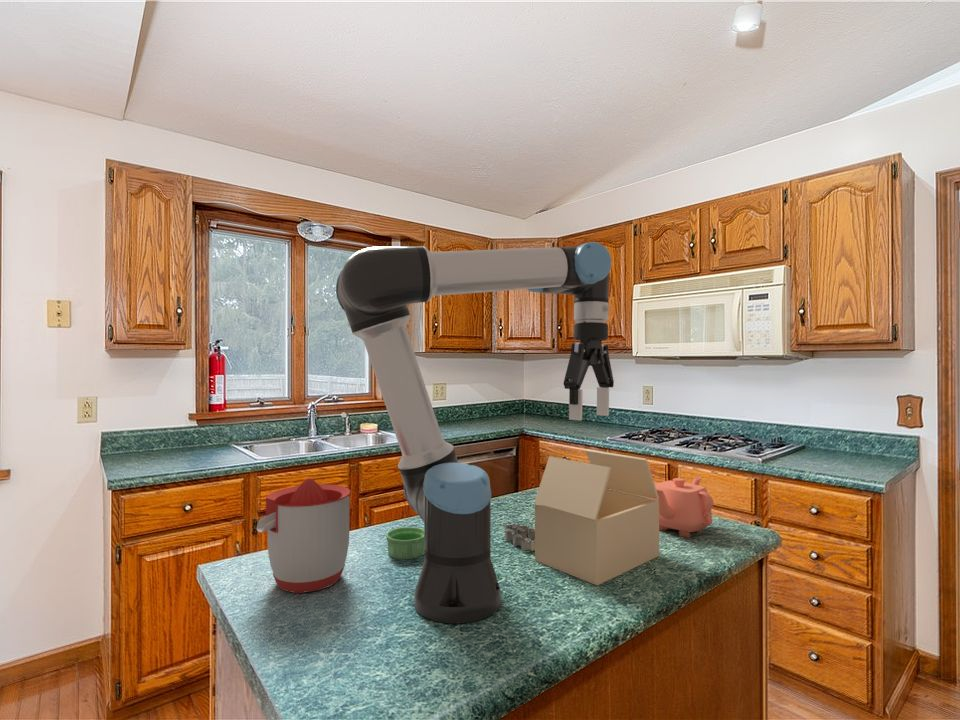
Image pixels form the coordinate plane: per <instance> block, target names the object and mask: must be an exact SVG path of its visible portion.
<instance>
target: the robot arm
mask: <svg viewBox="0 0 960 720" xmlns="http://www.w3.org/2000/svg"><path fill="white" fill-rule="evenodd" d="M611 269H612V257H611V253H610V252H609V250H608V248H607V247H606V246H604V245H603V244H602V243H599V242H597V241H589V242H583V243H581V244H580V245H578V246H577V245H576V246H559V247H558V246H557V247H556V246H554V247H552V246H551V247H531V248H530V247H529V248H527V247H526V248H525V247H524V248H503V249H498V248H497V249H476V250H475V249H473V250H452V251H449V250H447V251H444V250H443V251H430V250H429V249H428V247H426V246H424V245H423V246H422V245H419V246H393V245H392V246H371V247H366V248H362V249H361V250H358V251H356V252H355V253H353V254H352V255H351V256H350V257H349V258H348V259H347V260H346V262H345V263H344V265H343V268H342V269H341V271H340V272H339V274H338V277H337V280H336V286H335V293H336V299H337V302H338V304H339V306H340V307H341V309H342V310H343V311H344V313H345V315H346V318H347V322H348V324H349V327H350V331H351V333H352V335H353V336H355V337H357V338H359V339H361V340H362V342H363V343H364V346H365V347H364V348H365V349H366V353H367V354H368V355H367V356H368V358H369V360H370V361H369V362H370V364H371V366H372V370H373V373H374V375H375V378H376V379H375V380H376V381H377V384H378V387H379V390H380V393H381V396H382V398H383V399H382V400H383V401H384V405H385V407H386V412H387V413H388V416H389V419H390V423H391V426H392V428H393V431H394V434H395V437H396V440H397V443H398V446H399V449H400V451H401V457H400V459H399V462H398V463H397V467H398V470H399V472H400V476H401V478H402V482H403V494H404V497H405V499H406V501H407V503H408V505H409V506H410V508H411V509H412V510H413V511H414V512H415V513H417V515H418V516H419V517H420V519H421V521H423V526H424V528H423V529H424V547H425V552H424V559H423V563H422V567H421V570H420V574H419V577H418V581H417V585H416V587H415V589H414V607H415V610H416V611H417V613H418V614H420V616H423V617H424V618H426V619H429V620H431V621H435V622H439V623H442V624H443V623H444V624H468V623H472V622H477V621H480V620H483V619H487V618H488V617H491V616H492V615H493V614H495V613H496V612H497V611H498V610H499V609H500V607H501V602H502V600H501V599H502V593H501V587H500V583H499V581H498V577H497V573H496V570H495V568H494V565H493V562H492V558H491V557H492V556H491V539H492V538H491V529H492V528H491V517H492V516H491V511H492V510H491V506H492V504H491V503H492V502H491V499H492V490H491V489H492V488H491V483H490V482H491V481H490V476H489V475H488V473H487V472H486V471H485V470H484V469H483V468H482V467H479V466H477V465H474V464H468V463H464V462H459V460H458V457H457V454H456V450H455V447H454V445H453V444H452V443H449V442H447V441H445V440H444V439H443V436H442V432H441V428H440V426H439V423H438V420H437V418H436V414H435V410H434V408H433V405H432V402H431V399H430V396H429V393H428V390H427V388H426V384H425V381H424V377H423V375H422V371H421V369H420V365H419V363H418V359H417V356H416V353H415V350H414V348H413V345H412V342H411V338H410V336H409V332H408V330H407V329H408V328H407V325H408V323H409V321H410V319H411V314H410V311H409V307H408V305H412V304H418V303H429V302H430V300H431V299H432V298H433V297H435V296H436V297H437V296H449V295H450V296H451V295H463V294H465V295H466V294H476V293H477V294H478V293H491V292H506V291H517V290H519V291H520V290H527V291H528V292H531V293H538V294H540V295H541V294H552V295H553V294H557V295H569V296H573V304H574V306H573V321H575V323H574V325H573V339H574V340H575V341H579V342H572V343H571V347H570V348H571V350H570V356H569V360H568V364H567V368H566V371H565V376H564V379H563V387H564V389H565V390H566V389H567V390H568V391H569V394H568V395H569V397H568V400H569V401H568V420H570V421H571V420H572V421H580V422H581V421H583V390H584V389H581V387H582V385H583V382H584V379H585V377H586V374H587V373H588V369H589V367H592V368H591V369H592V370H593V372H594V375H595V378H596V382H597V383H598V387H596V416H603V417H604V416H605V417H609V416H610V388H614V385H615V384H614V383H615V382H614V381H615V379H614V377H613V376H614V375H613V370H612V364H611V360H610V355H609V345H607V344H602V341H607V340H608V338H609V325H608V323H606V322H607V321H608V320H609V311H610V310H611V309H610V306H609V294H610V293H609V289H610V288H609V287H610V273H611Z"/></svg>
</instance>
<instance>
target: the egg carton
mask: <svg viewBox="0 0 960 720" xmlns="http://www.w3.org/2000/svg"><path fill="white" fill-rule="evenodd" d="M502 526H503V528H504V540H506V542H512V545H513V546H514V547H516V546H517V545H519V547H520V550H522V551H529V550H530V552H533V550H534V551H535V526H533V527H532V526H528V525H527V524H525V523H522V524H521V525H520V523H519V522H518V523H516V524H515V523H513V524H510V523H509V524H507V525H506V524H502ZM527 536H528V537H527ZM529 538H530V539H529ZM517 547H518V546H517Z"/></svg>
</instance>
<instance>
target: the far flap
mask: <svg viewBox="0 0 960 720" xmlns="http://www.w3.org/2000/svg"><path fill="white" fill-rule="evenodd" d="M585 453H586V456H587V458H588V462H589V464H594V465H599V466H605V467H610V468H611V471H610V475H609V478H608V482H607V485H606V489H609V490H614V491H618V492H622V493H627V494H631V495H636V496H640V497H645V498H652V499H657V500H658V499H659V496H658V493H657V490H656V487H655V484H654V483H655V481H654V478H653V477H654V476H653V475H652V471H651V468H650V465H649V462H648V459H647V458H646V457H645V458H644V457H639V456H638V457H637V456H631V455H625V454H620V453H619V454H618V453H612V452H608V451H601V450H594V449H589V448H587V449H585Z"/></svg>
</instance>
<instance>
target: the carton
mask: <svg viewBox="0 0 960 720" xmlns="http://www.w3.org/2000/svg"><path fill="white" fill-rule="evenodd" d="M534 528H535V539H534V540H535V550H534V561H536V562H537V563H540V564H543V565H545V566H548V567H550V568H551V569H552V568H553V569H555V570H557V571H560V572H563V573H565V574H568V575H570V576H572V577H575V578H577V579H580V580H583V581H586V582H588V583H590V584H593V585H595V586H599V585H601V584H604V583H606V582H607V581H609V580H612V579H614V578H616V577H617V576H620V575H622V574H625V573H627V572H628V571H631V570H633V569H634V568H637V567H639V566H641V565H643V564H646V563H647V562H650V561H651V560H653V559H656V558H658V557H659V556H660V530H659V501H658V500H654V499H649V498H648V497H643V496H639V495H634V494H630V493H625V492H621V491H616V490H612V489H607V488H606V489H605V492H604V496H603V499H602V503H601V506H600V509H599V513H598V516H597V520H592V519H589V518H585V517H582V516H578V515H575V514H571V513H568V512H564V511H561V510H557V509H554V508H550V507H547V506H543V505H540V504H536V503H534Z"/></svg>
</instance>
